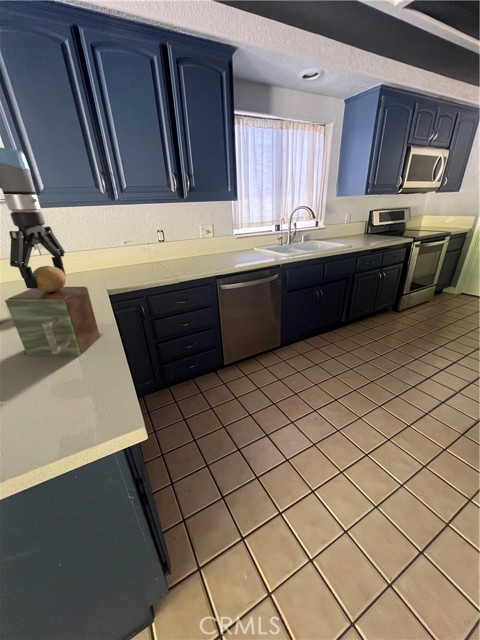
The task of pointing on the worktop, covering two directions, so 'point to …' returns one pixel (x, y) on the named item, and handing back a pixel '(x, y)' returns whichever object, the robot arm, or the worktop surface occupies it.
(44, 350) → the cupboard door
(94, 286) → the worktop surface
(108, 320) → the worktop surface
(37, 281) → the potato
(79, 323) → the cupboard
